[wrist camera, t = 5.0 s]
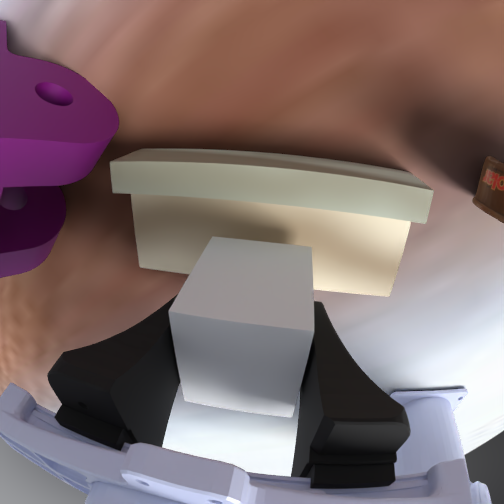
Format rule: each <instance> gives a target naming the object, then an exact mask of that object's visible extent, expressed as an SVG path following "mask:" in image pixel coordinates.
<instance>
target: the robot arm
mask: <svg viewBox="0 0 504 504" xmlns="http://www.w3.org/2000/svg"><path fill="white" fill-rule="evenodd" d="M177 295H178V294H177ZM177 295H176V296H175V297H174V298H172V299H171V300H170V301H169V302H168V303H166V304H165V305H164V306H162V307H161V308H160V309H158V310H157V311H156V312H154V313H153V314H151V315H150V316H149V317H147V318H146V319H144V320H143V321H141V322H140V323H138V324H136V325H135V326H133V327H131V328H129V329H127V330H126V331H124V332H122V333H119V334H117V335H115V336H113V337H111V338H108V339H106V340H104V341H101V342H98V343H95V344H92V345H89V346H86V347H83V348H79V349H75V350H71V351H66V352H63V354H62V355H61V356H60V357H59V359H58V360H57V362H56V363H55V364H54V366H53V367H52V368H51V370H50V371H49V373H48V375H47V376H48V381H49V383H50V385H51V387H52V389H53V390H54V392H55V394H56V395H57V397H58V398H59V400H60V401H61V403H62V405H61V407H60V409H59V410H58V412H57V414H56V413H54V412H52V411H50V410H48V409H46V408H44V407H42V406H40V405H38V404H37V403H36V401H35V399H34V398H33V397H32V395H31V394H30V393H28V392H27V391H26V390H24V389H22V388H20V387H19V386H17V385H15V384H14V383H10V384H9V386H8V387H7V388H6V390H5V391H4V392H3V394H2V395H1V397H0V437H1V438H2V439H3V440H5V442H6V443H7V444H8V445H9V446H11V447H12V448H13V449H14V450H16V451H17V452H18V453H20V454H21V455H23V456H24V457H26V458H27V459H29V460H30V461H32V462H33V463H35V464H36V465H38V466H39V467H41V468H43V469H44V470H46V471H47V472H49V473H51V474H52V475H54V476H56V477H57V478H59V479H60V480H62V481H64V482H66V483H67V484H69V485H71V486H73V487H74V488H76V489H78V490H80V491H82V492H84V493H86V494H87V495H88V496H87V499H86V501H85V503H84V504H491V500H490V495H489V491H488V488H487V486H486V485H485V484H483V483H480V482H479V481H476V482H475V483H472V482H470V481H469V476H468V471H467V466H466V461H465V457H464V452H463V448H462V443H461V439H460V435H459V432H458V428H457V424H456V420H455V417H454V413H453V411H454V410H455V409H456V408H457V406H458V405H459V404H460V403H461V401H462V400H463V399H464V398H465V396H466V395H467V393H468V391H467V389H452V390H436V391H408V392H394V393H392V394H391V395H390V396H389V395H387V394H386V393H385V392H384V391H383V390H381V389H380V388H379V387H378V386H377V385H376V384H375V383H374V382H373V381H372V380H371V379H370V378H369V377H368V376H367V375H366V374H365V373H364V372H363V371H362V369H361V368H360V367H359V366H358V365H357V363H356V362H355V361H354V359H353V358H352V357H351V355H350V354H349V352H348V351H347V350H346V348H345V346H344V345H343V343H342V342H341V340H340V338H339V337H338V335H337V333H336V331H335V329H334V327H333V325H332V323H331V321H330V319H329V317H328V315H327V313H326V310H325V308H324V305H323V304H322V302H317V301H314V335H313V339H312V343H311V347H310V352H309V356H308V360H307V364H306V368H305V372H304V375H303V379H302V383H301V387H300V409H299V419H298V429H297V437H296V445H295V453H294V460H293V467H292V473H291V477H287V476H276V475H266V474H258V473H250V472H245V470H243V469H241V468H239V467H237V466H235V465H233V464H229V463H225V462H221V461H217V460H212V459H207V458H202V457H198V456H193V455H189V454H185V453H181V452H177V451H173V450H169V449H165V448H162V444H163V440H164V436H165V432H166V428H167V424H168V420H169V416H170V413H171V409H172V405H173V402H174V399H175V396H176V392H177V389H178V386H179V384H180V376H179V371H178V366H177V360H176V355H175V349H174V343H173V337H172V331H171V325H170V318H169V312H168V311H169V309H170V308H171V306H172V304H173V302H174V301H175V299H176V297H177Z"/></svg>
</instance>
